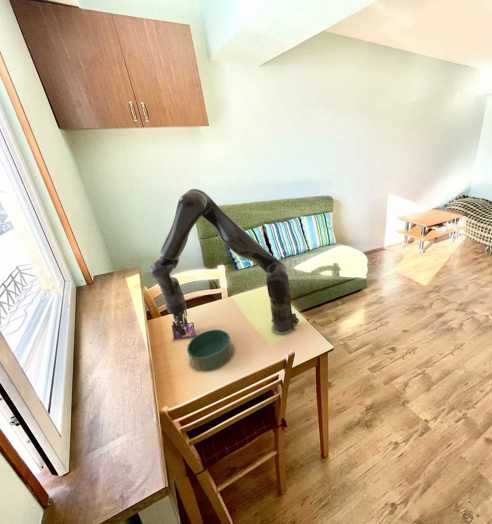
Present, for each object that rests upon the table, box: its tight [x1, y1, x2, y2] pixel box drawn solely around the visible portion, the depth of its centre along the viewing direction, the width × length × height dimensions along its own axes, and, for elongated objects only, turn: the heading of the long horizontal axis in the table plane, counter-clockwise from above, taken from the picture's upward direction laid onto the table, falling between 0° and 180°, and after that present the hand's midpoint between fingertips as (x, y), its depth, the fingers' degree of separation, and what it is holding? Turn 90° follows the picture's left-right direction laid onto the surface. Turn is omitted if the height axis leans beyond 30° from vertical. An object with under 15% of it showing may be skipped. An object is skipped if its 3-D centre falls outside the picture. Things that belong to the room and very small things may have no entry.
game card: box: [171, 322, 196, 340], centre depth 128 cm, size 7×5×9 cm
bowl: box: [186, 329, 234, 372], centre depth 116 cm, size 16×16×7 cm
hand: (184, 330), depth 127 cm, fingers open, 5 cm apart
